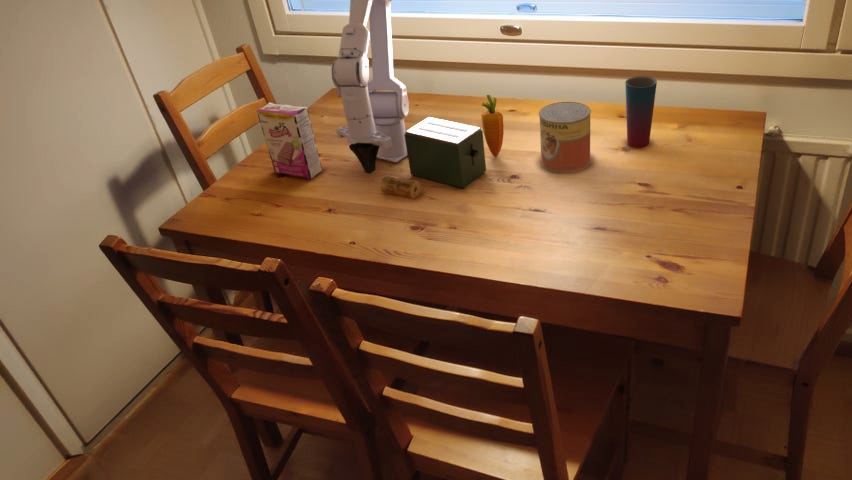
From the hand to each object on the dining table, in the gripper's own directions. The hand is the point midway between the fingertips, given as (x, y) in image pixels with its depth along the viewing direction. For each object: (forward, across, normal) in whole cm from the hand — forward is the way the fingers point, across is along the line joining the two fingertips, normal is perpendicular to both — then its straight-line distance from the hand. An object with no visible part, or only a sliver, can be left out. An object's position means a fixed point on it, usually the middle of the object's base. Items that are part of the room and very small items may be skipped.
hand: (370, 171), depth 153 cm
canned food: (+4, +33, +29) cm, 44 cm away
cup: (+4, +44, +44) cm, 63 cm away
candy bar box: (+4, -22, -3) cm, 22 cm away
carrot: (+4, +17, +24) cm, 30 cm away
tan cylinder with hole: (+4, +8, 0) cm, 9 cm away
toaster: (+4, +12, +12) cm, 18 cm away
